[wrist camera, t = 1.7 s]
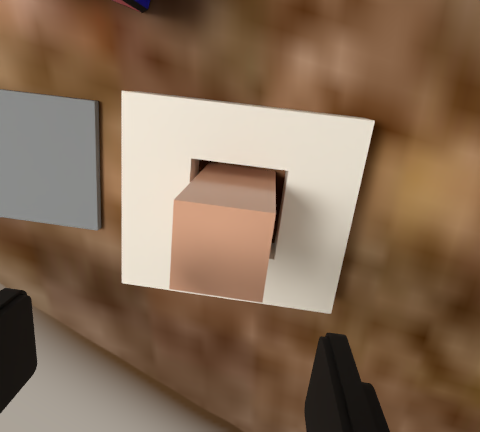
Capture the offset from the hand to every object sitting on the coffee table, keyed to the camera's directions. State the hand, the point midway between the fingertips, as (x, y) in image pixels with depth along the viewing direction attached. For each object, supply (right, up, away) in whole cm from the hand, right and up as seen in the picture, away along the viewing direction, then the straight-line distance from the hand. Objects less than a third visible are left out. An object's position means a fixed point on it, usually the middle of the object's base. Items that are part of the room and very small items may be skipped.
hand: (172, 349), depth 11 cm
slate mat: (-14, +9, +17) cm, 23 cm away
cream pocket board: (+2, +6, +16) cm, 17 cm away
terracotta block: (+2, +6, +16) cm, 17 cm away
